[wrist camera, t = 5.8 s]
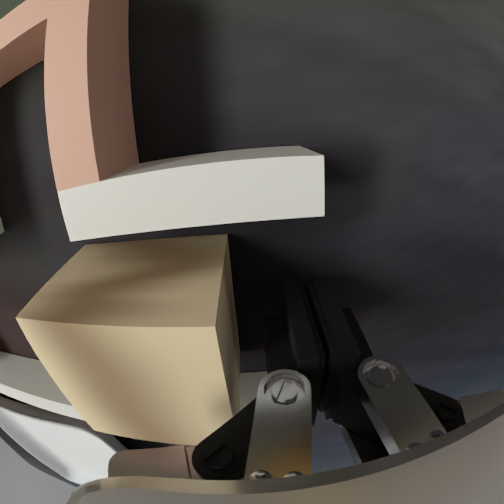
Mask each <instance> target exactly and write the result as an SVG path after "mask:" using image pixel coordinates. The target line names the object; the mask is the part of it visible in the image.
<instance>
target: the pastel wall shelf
mask: <svg viewBox="0 0 504 504" xmlns="http://www.w3.org/2000/svg"><path fill="white" fill-rule="evenodd" d="M128 12H129V0H26V1H25V2H23V3H22V4H20V5H19V6H18V7H16V8H15V9H14V10H12V11H11V12H10V13H8V14H7V15H6V16H4V17H3V18H2V19H1V20H0V87H2V86H3V85H4V84H6V83H7V82H9V81H10V80H12V79H13V78H15V77H16V76H18V75H19V74H21V73H22V72H24V71H26V70H27V69H29V68H31V67H32V66H34V65H36V64H37V63H39V62H41V61H43V60H44V91H45V110H46V122H47V132H48V140H49V148H50V154H51V161H52V167H53V172H54V177H55V183H56V187H57V192H58V197H59V201H60V205H61V209H62V213H63V217H64V221H65V224H66V228H67V232H68V235H69V238H70V242H71V241H78V240H85V239H93V238H100V237H108V236H116V235H124V234H132V233H141V232H150V231H159V230H168V229H177V228H187V227H197V226H207V225H218V224H228V223H240V222H252V221H264V220H277V219H290V218H305V217H320V216H324V214H325V182H324V155H322V154H319V153H317V152H314V151H312V150H309V149H306V148H304V147H301V146H283V147H266V148H252V149H240V150H229V151H220V152H211V153H203V154H195V155H188V156H181V157H174V158H168V159H162V160H156V161H150V162H145V163H139V158H138V151H137V144H136V136H135V128H134V119H133V109H132V98H131V85H130V69H129V42H128ZM3 232H4V227H3V224H2V220H1V217H0V234H1V233H3ZM266 375H267V371H263V372H249V373H240V411H241V410H242V409H243V408H244V407H245V406H247V405H248V404H249V403H250V402H251V401H252V400H254V399H255V398H256V397H257V391H258V386H259V383H260V381H261V380H262V379H263V377H264V376H266ZM0 393H2V394H5V395H7V396H9V397H12V398H14V399H17V400H19V401H22V402H25V403H27V404H30V405H33V406H36V407H39V408H42V409H45V410H48V411H51V412H54V413H58V414H61V415H65V416H68V417H72V418H76V419H80V420H84V419H83V417H82V416H81V415H80V414H79V413H78V411H77V410H76V409H75V408H74V407H73V405H72V404H71V403H70V402H69V400H68V399H67V398H66V396H65V395H64V394H63V393H62V391H61V390H60V389H59V387H58V386H57V384H56V383H55V382H54V380H53V379H52V377H51V376H50V375H49V373H48V372H47V370H46V369H45V367H44V366H43V364H42V363H41V361H40V360H36V359H31V358H26V357H22V356H18V355H13V354H9V353H5V352H2V351H0ZM84 421H85V420H84Z"/></svg>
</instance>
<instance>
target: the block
mask: <svg viewBox="0 0 504 504" xmlns="http://www.w3.org/2000/svg"><path fill="white" fill-rule="evenodd" d="M15 318H16V320H17V321H18V323H19V325H20V327H21V329H22V331H23V333H24V334H25V336H26V338H27V340H28V341H29V343H30V345H31V347H32V348H33V350H34V352H35V353H36V355H37V356H38V358H39V360H40V361H41V363H42V364H43V366H44V367H45V369H46V370H47V372H48V373H49V375H50V376H51V377H52V379H53V380H54V382H55V383H56V384H57V386H58V387H59V389H60V390H61V391H62V393H63V394H64V395H65V396H66V398H67V399H68V400H69V402H70V403H71V404H72V405H73V407H74V408H75V409H76V410H77V411H78V413H79V414H80V415H81V416H82V417H83V419H84V420H85V421H86V422H87V423H88V424H89V425H90V426H91V428H92V429H93V430H94V431H98V432H103V433H107V434H112V435H117V436H122V437H127V438H133V439H139V440H146V441H153V442H161V443H170V444H181V445H196V446H197V445H198V444H199V443H200V442H201V441H202V440H204V439H205V438H206V437H208V436H209V435H210V434H212V433H213V432H214V431H216V430H217V429H218V428H219V427H221V426H222V425H223V424H225V423H226V422H227V421H228V420H230V419H231V418H232V417H233V416H235V415H236V414H237V413H238V412H239V411H240V347H239V339H238V330H237V321H236V312H235V303H234V294H233V284H232V275H231V265H230V255H229V244H228V234H218V235H203V236H189V237H175V238H161V239H148V240H136V241H123V242H112V243H100V244H89V245H85V246H84V247H83V248H82V249H80V250H79V251H78V252H77V253H76V254H75V255H74V256H73V257H72V258H71V259H70V260H69V261H68V262H67V263H66V264H65V265H64V266H63V267H62V268H61V269H60V270H59V271H58V272H57V273H56V274H55V275H54V276H53V277H52V278H51V279H50V280H49V281H48V282H47V283H46V284H45V285H44V286H43V287H42V288H41V289H40V290H39V291H38V293H37V294H36V295H35V296H34V297H33V298H32V299H31V300H30V301H29V302H28V304H27V305H26V306H25V307H24V308H23V309H22V310H21V312H20V313H19V314H18V315H17V316H16V317H15Z"/></svg>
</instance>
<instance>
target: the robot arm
mask: <svg viewBox="0 0 504 504" xmlns="http://www.w3.org/2000/svg"><path fill="white" fill-rule="evenodd" d="M263 322H264V339H265V352H266V363H267V375H266V376H264V377H263V379H262V380H261V381H260V383H259V386H258V391H257V397H256V398H255V399H254V400H252V401H251V402H250V403H249V404H248V405H247V406H245V407H244V408H243V409H242V410H241V411H239V412H238V413H237V414H236V415H235V416H233V417H232V418H231V419H230V420H228V421H227V422H226V423H225V424H223V425H222V426H221V427H219V428H218V429H217V430H216V431H214V432H213V433H212V434H210V435H209V436H208V437H206V438H205V439H204V440H202V441H201V442H200V443H199V444H198V445H197V446H190V447H185V446H184V445H179V446H171V447H161V448H150V449H133V450H123V451H119V452H117V453H115V454H114V455H113V456H112V457H111V459H110V460H109V464H108V478H103V479H97V480H93V481H90V482H87V483H84V484H82V485H80V486H79V487H78V488H77V489H76V490H75V491H74V492H73V493H72V495H71V496H70V498H69V499H68V502H67V504H504V391H502V390H492V391H488V392H483V393H479V394H474V395H469V396H463V397H459V398H458V400H455V399H453V398H451V397H448V396H446V395H443V394H440V393H438V392H435V391H433V390H430V389H427V388H425V387H422V386H420V385H417V384H415V383H413V382H412V381H411V379H410V378H409V377H408V375H407V374H406V372H405V371H404V370H403V368H402V367H401V366H400V364H399V363H398V362H397V361H395V360H393V359H392V358H390V357H386V356H378V355H377V356H373V354H372V352H371V350H370V347H369V345H368V343H367V341H366V339H365V337H364V335H363V333H362V331H361V329H360V327H359V325H358V323H357V321H356V319H355V317H354V315H353V313H352V311H351V309H350V308H341V306H340V304H339V302H338V300H337V298H336V296H335V294H334V292H333V290H332V287H331V285H330V283H329V281H328V279H327V277H326V276H317V277H311V278H310V281H306V282H305V290H304V287H303V284H302V282H297V280H296V278H294V279H281V315H270V316H263ZM318 409H319V412H323V411H324V413H325V417H326V419H329V418H332V419H333V421H334V422H335V423H337V424H339V425H340V430H341V433H342V435H343V437H344V439H345V442H346V444H347V446H348V448H349V450H350V453H351V455H352V457H353V459H354V462H355V464H356V465H354V466H350V467H345V468H341V469H336V470H331V471H326V472H320V473H314V474H311V452H312V426H313V425H314V423H315V418H316V414H317V410H318Z"/></svg>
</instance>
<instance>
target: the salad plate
mask: <svg viewBox="0 0 504 504" xmlns="http://www.w3.org/2000/svg"><path fill="white" fill-rule="evenodd" d="M0 427H1V428H2V429H3V430H4V431H5V432H6V433H7V434H8V435H9V436H10V437H11V438H13V439H14V440H15V441H16V442H17V443H18V444H19V445H20V446H22V447H23V448H24V449H25V450H26V451H28V452H29V453H30V454H31V455H33V456H34V457H35V458H37V459H38V460H39V461H41V462H42V463H44V464H45V465H46V466H48V467H49V468H51V469H52V470H54V471H55V472H57V473H58V474H60V475H61V476H63V477H64V478H66V479H68V480H69V481H72V482H75V483H78V484H81V485H82V484H84V483H87V482H90V481H93V480H97V479H103V478H108V464H109V460H110V459H111V457H112V456H113V455H114V454H115V453H117V452H119V451H123V450H128V449H127V448H126V447H125V446H124V445H122V444H121V443H120V442H119V441H118V440H117V439H116V438H115V437H114V436H113V435H112V434H107V433H103V432H98V431H94V430H93V429H92V428H91V426H90V425H89V424H88V423H87V422H86V421H84V420H80V419H76V418H72V417H68V416H65V415H61V414H58V413H54V412H51V411H48V410H45V409H42V408H38V407H34V406H30V405H27V404H23V403H19V402H16V401H13V400H10V399H7V398H4V397H1V396H0Z"/></svg>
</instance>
